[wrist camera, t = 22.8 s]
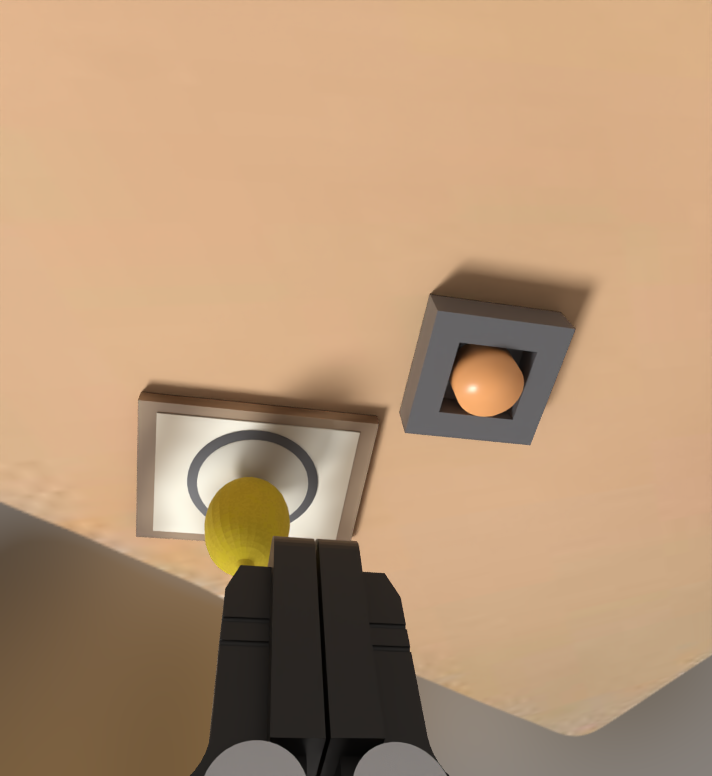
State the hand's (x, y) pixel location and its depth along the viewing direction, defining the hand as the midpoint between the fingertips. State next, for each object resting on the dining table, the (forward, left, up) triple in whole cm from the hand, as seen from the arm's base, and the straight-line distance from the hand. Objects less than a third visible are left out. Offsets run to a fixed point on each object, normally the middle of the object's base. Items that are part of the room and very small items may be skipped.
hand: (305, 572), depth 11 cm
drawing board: (0, +21, -29) cm, 36 cm away
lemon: (0, +21, -28) cm, 35 cm away
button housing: (-14, +10, -29) cm, 34 cm away
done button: (-14, +10, -28) cm, 33 cm away
